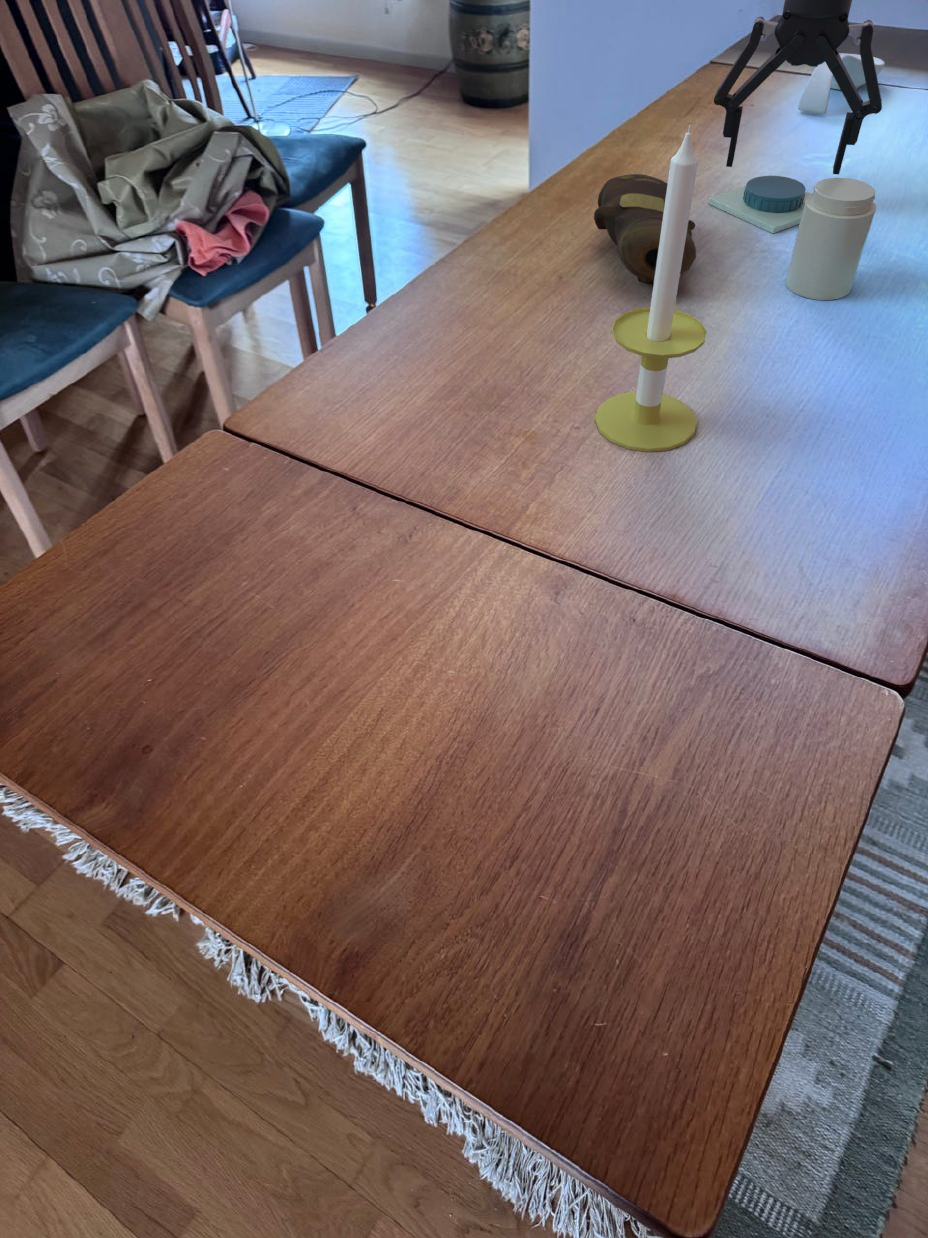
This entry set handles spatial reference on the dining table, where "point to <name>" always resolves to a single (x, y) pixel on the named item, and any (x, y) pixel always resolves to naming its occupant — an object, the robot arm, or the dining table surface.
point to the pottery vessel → (638, 222)
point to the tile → (756, 211)
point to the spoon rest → (832, 82)
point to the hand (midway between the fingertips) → (782, 167)
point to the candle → (658, 333)
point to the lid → (774, 194)
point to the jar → (831, 238)
